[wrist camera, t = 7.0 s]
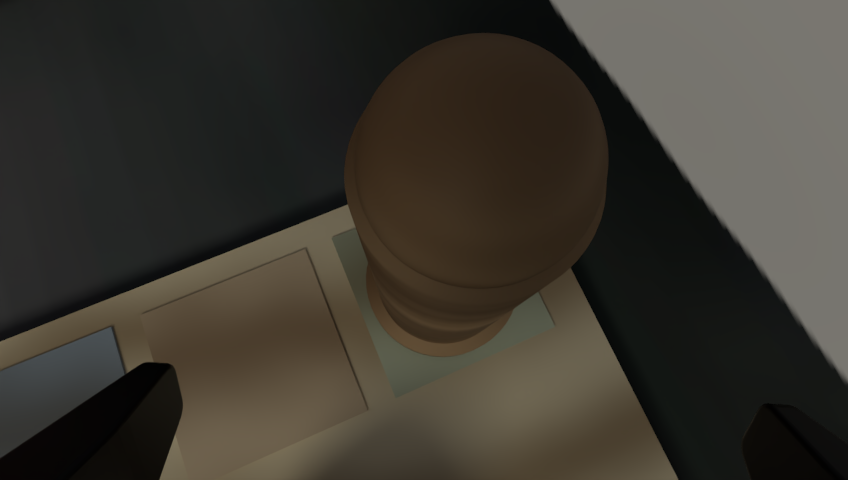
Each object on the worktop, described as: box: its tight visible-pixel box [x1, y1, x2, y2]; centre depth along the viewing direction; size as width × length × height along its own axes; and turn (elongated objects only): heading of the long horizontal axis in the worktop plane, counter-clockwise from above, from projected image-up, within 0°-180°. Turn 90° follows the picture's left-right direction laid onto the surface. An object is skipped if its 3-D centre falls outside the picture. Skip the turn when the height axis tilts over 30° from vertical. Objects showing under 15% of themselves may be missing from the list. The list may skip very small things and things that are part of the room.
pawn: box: [344, 33, 608, 357], centre depth 13 cm, size 5×5×12 cm
